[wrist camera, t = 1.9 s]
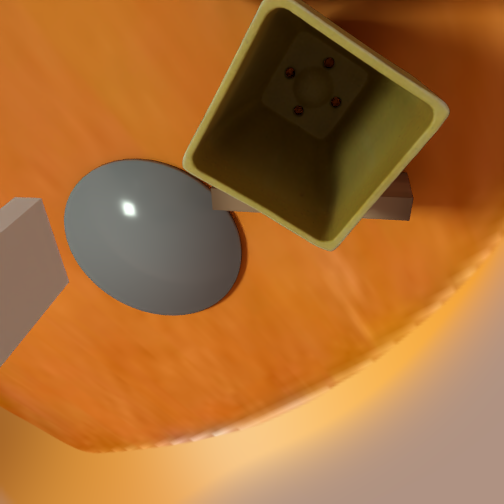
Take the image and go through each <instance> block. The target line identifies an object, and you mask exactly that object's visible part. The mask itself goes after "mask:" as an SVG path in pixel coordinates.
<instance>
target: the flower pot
mask: <svg viewBox="0 0 504 504" xmlns="http://www.w3.org/2000/svg"><path fill="white" fill-rule="evenodd" d="M327 58H332V59H333V60H334V65H333V66H332V67H331V68H327V67H325V65H324V61H325V59H327ZM288 68H293V69H294V70H295V75H294V76H293V77H291V78H290V77H287V76H286V70H287V69H288ZM334 97H338V98H339V99H340V101H341V102H340V105H338V106H337V107H334V106H332V104H331V100H332V99H333V98H334ZM296 106H301V107H302V108H303V112H302V113H301V114H299V115H297V114H295V112H294V108H295V107H296ZM449 114H450V110H449V107H448V106H447V104H446V103H445V102H444V101H443V100H442V99H440V98H439V97H438V96H437V95H436V94H434V93H433V92H432V91H431V90H429V89H428V88H427V87H426V86H425V85H423V84H422V83H421V82H420V81H419V80H417V79H416V78H415V77H414V76H412V75H411V74H409V73H408V72H406V71H404V70H403V69H401V68H400V67H398V66H396V65H395V64H393V63H392V62H390V61H389V60H387V59H386V58H384V57H383V56H381V55H380V54H378V53H377V52H375V51H374V50H372V49H371V48H369V47H368V46H366V45H365V44H364V43H362V42H361V41H359V40H358V39H356V38H355V37H353V36H352V35H351V34H349V33H348V32H346V31H345V30H343V29H342V28H340V27H339V26H337V25H336V24H335V23H333V22H332V21H330V20H329V19H327V18H326V17H325V16H323V15H322V14H320V13H319V12H317V11H316V10H315V9H313V8H312V7H310V6H309V5H308V4H306V3H305V2H303V1H302V0H263V1H262V3H261V5H260V7H259V9H258V11H257V13H256V15H255V17H254V19H253V21H252V23H251V24H250V27H249V29H248V31H247V33H246V35H245V37H244V39H243V41H242V43H241V45H240V47H239V49H238V51H237V53H236V55H235V57H234V59H233V61H232V63H231V65H230V67H229V69H228V71H227V73H226V75H225V77H224V79H223V81H222V83H221V85H220V87H219V89H218V91H217V93H216V95H215V97H214V99H213V101H212V102H211V104H210V106H209V108H208V110H207V112H206V114H205V116H204V118H203V120H202V122H201V124H200V125H199V127H198V129H197V131H196V133H195V135H194V137H193V138H192V140H191V142H190V144H189V146H188V148H187V150H186V152H185V155H184V157H183V168H184V169H185V170H186V171H188V172H189V173H191V174H192V175H194V176H196V177H197V178H199V179H201V180H203V181H204V182H206V183H208V184H210V185H212V186H214V187H215V188H217V189H219V190H221V191H223V192H225V193H227V194H228V195H230V196H232V197H234V198H236V199H237V200H239V201H241V202H243V203H245V204H247V205H248V206H250V207H252V208H254V209H256V210H257V211H259V212H261V213H263V214H264V215H266V216H268V217H269V218H271V219H272V220H274V221H276V222H277V223H279V224H280V225H282V226H284V227H285V228H287V229H289V230H290V231H292V232H294V233H295V234H297V235H299V236H300V237H302V238H304V239H305V240H307V241H308V242H310V243H312V244H313V245H315V246H317V247H320V248H322V249H324V250H327V251H333V250H335V249H336V248H337V247H338V246H339V245H340V244H341V242H342V241H343V240H344V239H345V238H346V236H347V235H348V234H349V233H350V232H351V231H352V229H353V228H354V227H355V226H356V225H357V224H358V222H359V221H360V220H361V219H362V217H363V216H364V215H365V214H366V213H367V211H368V210H369V209H370V208H371V207H372V206H373V204H374V203H375V202H376V201H377V200H378V199H379V198H380V196H381V195H382V194H383V193H384V192H385V190H386V189H387V188H388V187H389V186H390V185H391V184H392V182H393V181H394V180H395V179H396V178H397V177H398V176H399V174H400V173H401V172H402V171H403V170H404V168H405V167H406V166H407V165H408V164H409V163H410V161H411V160H412V159H413V158H414V157H415V156H416V155H417V154H418V153H419V151H420V150H421V149H422V148H423V147H424V145H425V144H426V143H427V142H428V141H429V140H430V139H431V137H432V136H433V135H434V134H435V133H436V132H437V130H438V129H439V128H440V127H441V125H442V124H443V123H444V121H445V120H446V119H447V117H448V115H449Z"/></svg>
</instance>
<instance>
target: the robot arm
mask: <svg viewBox="0 0 504 504" xmlns="http://www.w3.org/2000/svg"><path fill="white" fill-rule="evenodd" d="M68 283H69V280H68V277H67V274H66V271H65V268H64V265H63V262H62V259H61V256H60V253H59V250H58V247H57V244H56V241H55V238H54V235H53V232H52V229H51V226H50V223H49V220H48V217H47V214H46V211H45V208H44V205H43V202H42V199H41V198H21V197H15V198H13V199H12V200H11V201H10V202H8V203H7V204H6V205H4V206H3V207H2V208H1V209H0V367H1V366H2V364H3V363H4V362H5V361H6V359H7V358H8V357H9V356H10V354H11V353H12V352H13V351H14V350H15V348H16V347H17V346H18V345H19V343H20V342H21V341H22V340H23V338H24V337H25V336H26V335H27V333H28V332H29V331H30V330H31V328H32V327H33V326H34V325H35V323H36V322H37V321H38V320H39V319H40V317H41V316H42V315H43V314H44V312H45V311H46V310H47V309H48V307H49V306H50V305H51V304H52V302H53V301H54V300H55V299H56V297H57V296H58V295H59V294H60V292H61V291H62V290H63V289H64V288H65V286H66V285H67V284H68Z"/></svg>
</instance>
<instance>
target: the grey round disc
mask: <svg viewBox="0 0 504 504" xmlns="http://www.w3.org/2000/svg"><path fill="white" fill-rule="evenodd" d="M64 225H65V233H66V238H67V242H68V244H69V247H70V250H71V252H72V254H73V256H74V258H75V260H76V261H77V263H78V264H79V266H80V267H81V269H82V270H83V271H84V272H85V274H86V275H87V276H88V277H89V278H90V279H91V280H92V281H93V282H94V283H95V284H96V285H97V286H98V287H99V288H101V289H102V290H103V291H104V292H106V293H107V294H109V295H110V296H112V297H113V298H115V299H116V300H118V301H120V302H122V303H124V304H126V305H128V306H131V307H133V308H136V309H139V310H141V311H145V312H149V313H153V314H160V315H185V314H191V313H195V312H198V311H201V310H204V309H206V308H208V307H210V306H212V305H214V304H215V303H217V302H218V301H220V300H221V299H222V298H223V297H224V296H225V295H226V294H227V293H228V291H229V290H230V289H231V288H232V286H233V284H234V282H235V281H236V278H237V275H238V272H239V269H240V265H241V259H242V248H241V240H240V236H239V232H238V229H237V226H236V224H235V222H234V220H233V217H232V216H231V214H230V212H229V211H223V210H213V208H212V197H211V189H210V188H208V187H207V186H206V185H205V184H203V183H202V182H201V181H200V180H198V179H196V178H195V177H193V176H192V175H190V174H189V173H187V172H185V171H183V170H181V169H178V168H176V167H174V166H171V165H168V164H165V163H162V162H157V161H153V160H145V159H123V160H117V161H113V162H110V163H107V164H103V165H101V166H99V167H98V168H96V169H94V170H92V171H91V172H90V173H88V174H87V175H86V176H84V177H83V178H82V179H81V180H80V182H79V183H78V184H77V185H76V186H75V188H74V189H73V191H72V192H71V194H70V196H69V199H68V201H67V204H66V208H65V216H64Z"/></svg>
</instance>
